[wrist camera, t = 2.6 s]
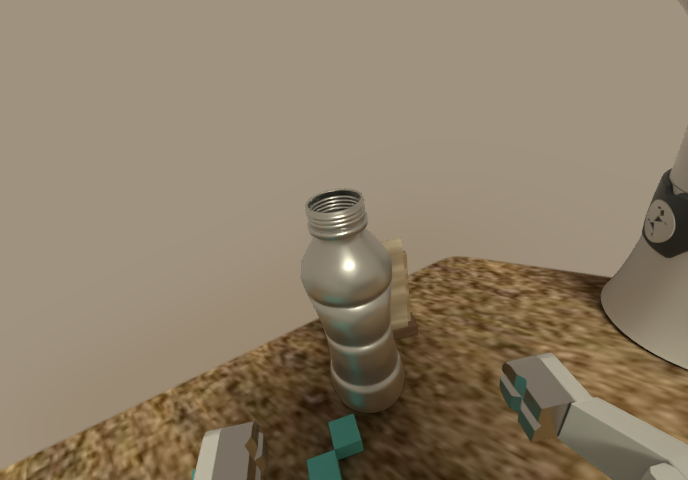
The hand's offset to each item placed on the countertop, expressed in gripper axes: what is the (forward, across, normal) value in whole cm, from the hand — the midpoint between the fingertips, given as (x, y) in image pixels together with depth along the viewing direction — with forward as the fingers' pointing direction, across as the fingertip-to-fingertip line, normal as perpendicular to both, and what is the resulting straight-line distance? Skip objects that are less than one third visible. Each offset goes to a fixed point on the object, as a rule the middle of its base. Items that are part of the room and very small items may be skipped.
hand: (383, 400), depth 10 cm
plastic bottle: (+12, 0, +18) cm, 22 cm away
